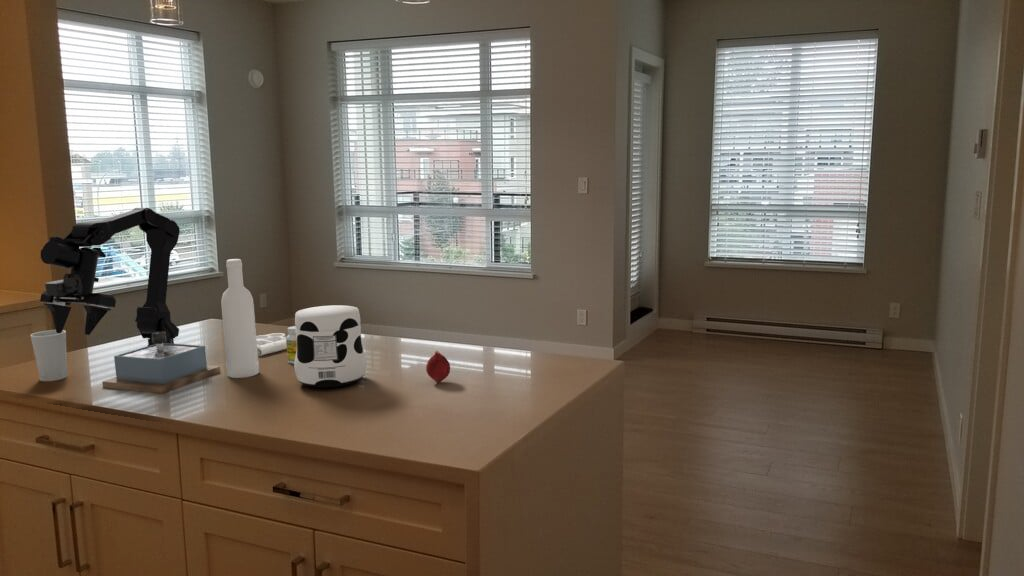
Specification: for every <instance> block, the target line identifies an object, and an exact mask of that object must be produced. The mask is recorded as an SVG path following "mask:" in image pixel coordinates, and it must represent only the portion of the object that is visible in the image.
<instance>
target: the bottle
mask: <svg viewBox="0 0 1024 576" xmlns="http://www.w3.org/2000/svg"><path fill="white" fill-rule="evenodd" d="M225 267H226V272H227V284H228V286H227V287H228V288H227V289H225V290H224V292H223V293H222V296H221V302H220V304H221V315H222V328H223V337H224V338H223V340H224V349H225V360H226V361H225V362H226V365H225V366H226V373H227V376H228V378H232V379H244V378H250V377H255V376H256V375H258V374H259V372H260V361H259V356H258V352H257V340H256V336H257V332H256V331H257V330H256V316H255V304H254V298H253V296H252V293H251V291H250V290H249V289H247V287H245V286H244V275H243V263H242V259H240V258H231V259H230V258H229V259H227V260H226V265H225Z"/></svg>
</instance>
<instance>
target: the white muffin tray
mask: <svg viewBox="0 0 1024 576" xmlns="http://www.w3.org/2000/svg"><path fill="white" fill-rule="evenodd" d="M256 340H257V352H258V357H263V356H265V355H269V354H273V353H277V352H280V351H286V350H287V346H286V333H284V332H283V333H282V332H275V333H274V332H273V333H269V334H260V335H256Z"/></svg>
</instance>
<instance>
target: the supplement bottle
mask: <svg viewBox="0 0 1024 576" xmlns="http://www.w3.org/2000/svg"><path fill="white" fill-rule="evenodd" d="M287 333H288V335H287V336H285V338H286V346H287V349H286V353H287V354H286V355H287V356H286V357H287V362H288V363H289V364H293V365H294V362H295V356H296V351H297V340H296V326H295V325H293V326H289V327H287Z"/></svg>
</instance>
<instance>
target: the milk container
mask: <svg viewBox="0 0 1024 576" xmlns="http://www.w3.org/2000/svg"><path fill="white" fill-rule="evenodd" d="M294 323H295V324H294V326H296V340H297V351H296V356H295V362H294V364H293V365H294V366H293V367H294V368H293V369H294V372H295V373H294V374H295V377H296V380H298V382H299V383H301V384H303V385H304V386H307V387H313V388H334V387H335V388H336V387H340V386H346V385H350V384H353V383H356V382H358V381H360V380H361V379H363V377H364V376H365V374H366V371H367V356H366V351H365V350H364V347H363V344H362V328H361V327H362V326H361V314H360V310H359V308H358V307H356V306H352V305H344V304H343V305H341V304H338V305H337V304H336V305H335V304H333V305H321V306H320V305H319V306H313V307H308V308H303V309H300V310H297V311H296V312H295V315H294Z"/></svg>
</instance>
